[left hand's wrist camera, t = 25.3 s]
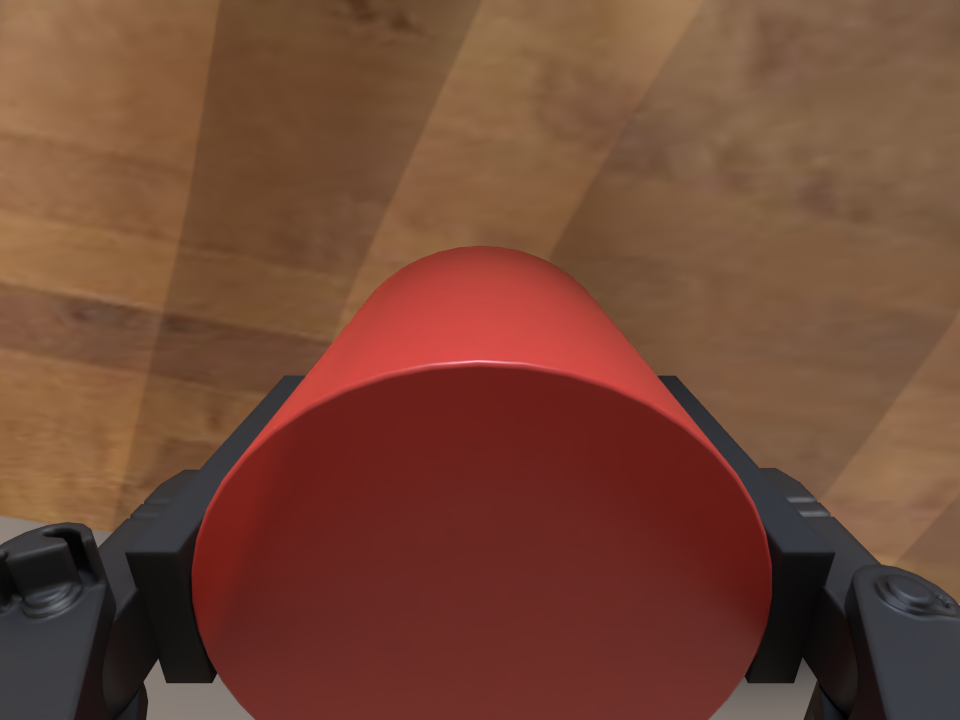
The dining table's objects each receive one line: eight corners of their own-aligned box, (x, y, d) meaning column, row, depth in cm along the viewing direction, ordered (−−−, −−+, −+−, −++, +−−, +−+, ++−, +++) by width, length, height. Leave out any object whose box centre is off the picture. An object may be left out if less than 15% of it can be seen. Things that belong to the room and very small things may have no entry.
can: (344, 228, 15) (156, 322, 6) (648, 264, 15) (871, 402, 6) (339, 487, 18) (211, 786, 9) (589, 511, 18) (685, 820, 10)
